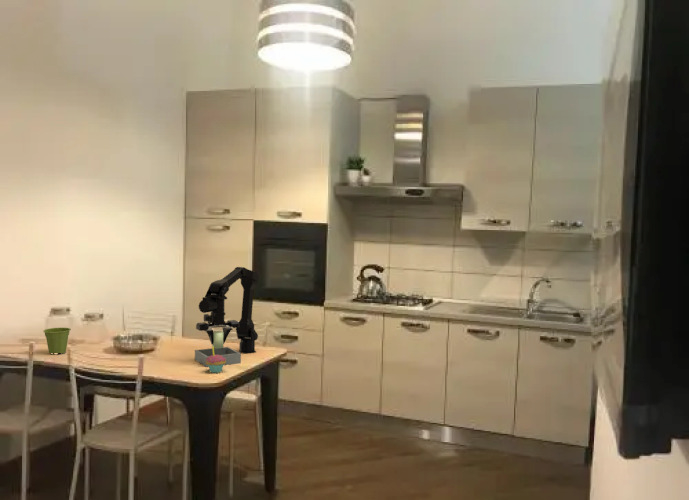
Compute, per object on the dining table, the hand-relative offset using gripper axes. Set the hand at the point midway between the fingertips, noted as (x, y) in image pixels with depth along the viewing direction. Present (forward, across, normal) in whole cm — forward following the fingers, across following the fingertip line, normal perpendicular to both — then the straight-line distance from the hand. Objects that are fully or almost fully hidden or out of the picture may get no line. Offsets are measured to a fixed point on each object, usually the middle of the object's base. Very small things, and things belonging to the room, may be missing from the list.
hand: (217, 344), depth 284 cm
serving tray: (+8, 0, 0) cm, 8 cm away
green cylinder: (+2, 0, 0) cm, 2 cm away
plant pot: (+8, +61, -50) cm, 79 cm away
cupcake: (+8, +7, +17) cm, 20 cm away
